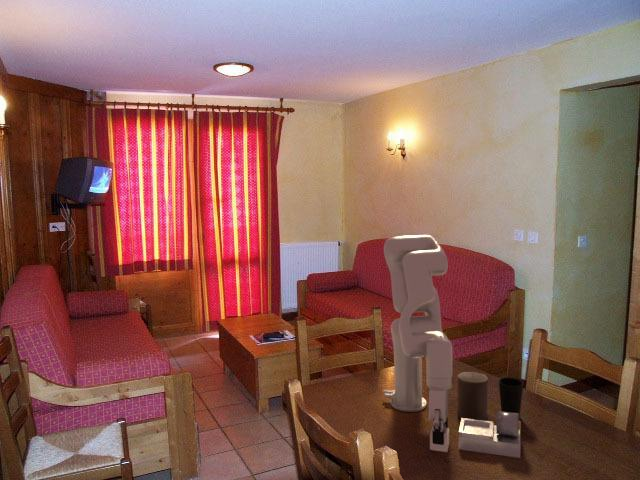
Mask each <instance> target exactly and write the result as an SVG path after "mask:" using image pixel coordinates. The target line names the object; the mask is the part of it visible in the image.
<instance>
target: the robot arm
mask: <svg viewBox="0 0 640 480" xmlns="http://www.w3.org/2000/svg"><path fill="white" fill-rule="evenodd" d="M383 255H384V258H385V259H384V260H385V263H386V265H387V267H388V270H389V273H390V280H391V283H390V284H391V295H392V302H393V303H392V304H393V307H394V311H396V312H397V313H400V317H399V318H395V319H394V320H393V321H392V322H391V324H390V325H391V326H390V333H391V340H392V343H393V344H392V345H393V363H394V365H393V366H394V369H393V370H394V371H393V372H394V374H393V375H394V389H392V390H389V389H383V391H382V395H383V396H384V398H387V399H390V406H391V407H392V408H394V409H395V410H397V411H400V412H407V413H408V412H409V413H414V412H419V411H422V410H424V409H425V408H427V406H428V421H429V422H432V426H433V430H432V439H433V444H439V445H444V431H443V423H445V424H446V428H449V426H448V425H449V424H448V423H449V422H448V421H449V419H448V417H449V416H448V415H449V409H450V408H449V406H450V389H452V388H453V387H454V385H453V384H454V382H453V381H454V380H453V377H454V376H453V375H454V374H453V371H454V370H453V344H452V341H451V340H450V339H449V338H448V336H447V335H446V334H445V332H443V331H442V330H443V329H442V317H441V306H440V305H441V304H440V303H441V302H440V297H439V293H438V291H437V288H436V287H435V286H434V283H433V276H435V277H436V276H442V275H443V276H444V275H445V274H446V273H448V268H449V262H448V258H447V254H446V253H445V251H444V249H443V247H442V246H441V245H440V244H439V242H438V241H437V239H435V237H434V236H432V235H430V234H416V235H413V234H412V235H399V236H392V237H390V238H387V239H386V240H385V241H384V243H383ZM413 313H424V315H417V316H416V315H414V316H412V315H413ZM422 358H425V364H426V365H425V366H426V369H425V370H426V373H425V374H426V375H425V376H426V377H425V378H426V387H428V388H429V393H428V395H429V396H428V405H427V400H426V399H425V398H424V397H423V376H422V375H423V373H422V372H423V367H422V366H423V363H422V362H423V360H422ZM439 423H441V426H440V425H439Z"/></svg>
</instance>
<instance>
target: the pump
mask: <svg viewBox="0 0 640 480" xmlns="http://www.w3.org/2000/svg"><path fill="white" fill-rule="evenodd" d="M439 425H440V426H441V423H439ZM432 430H433V425H432V426H431V428H430V432H429V450H431V451H436V452H442V453H443V452H444V453H448V450H449V446H450V428H449V427H448V428H446V424H445V423H443V431H444V445H439V444H433V439H432Z"/></svg>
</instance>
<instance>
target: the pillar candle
mask: <svg viewBox="0 0 640 480" xmlns="http://www.w3.org/2000/svg"><path fill="white" fill-rule="evenodd" d="M488 381H489V379H488V377H487V375H485V374H483V373H480V372H475V371H462V372H461V373H459V374H458V375H457V399H456V400H457V401H456V402H457V403H456V405H457V406H456V407H457V408H456V414H457V417H458V418H459V419H460V420H461V418H467V419H475V420H483V421H487V420H488V391H489V390H488V389H489V383H488Z"/></svg>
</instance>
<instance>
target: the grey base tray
mask: <svg viewBox="0 0 640 480" xmlns="http://www.w3.org/2000/svg"><path fill="white" fill-rule="evenodd" d="M459 423H460V424H459V429H458V450H461V451H467V452H476V453H482V454H489V455H497V456H505V457H510V458H518V459H521V430H522V429H521V428H522V427H521V424H522V421H520V418H519V414H518V413H510V412H501V410H500V411H498V410H496V425H495V424H494V421H490V420H485V421H483V420H475V419H467V418H461V419H460V422H459Z"/></svg>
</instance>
